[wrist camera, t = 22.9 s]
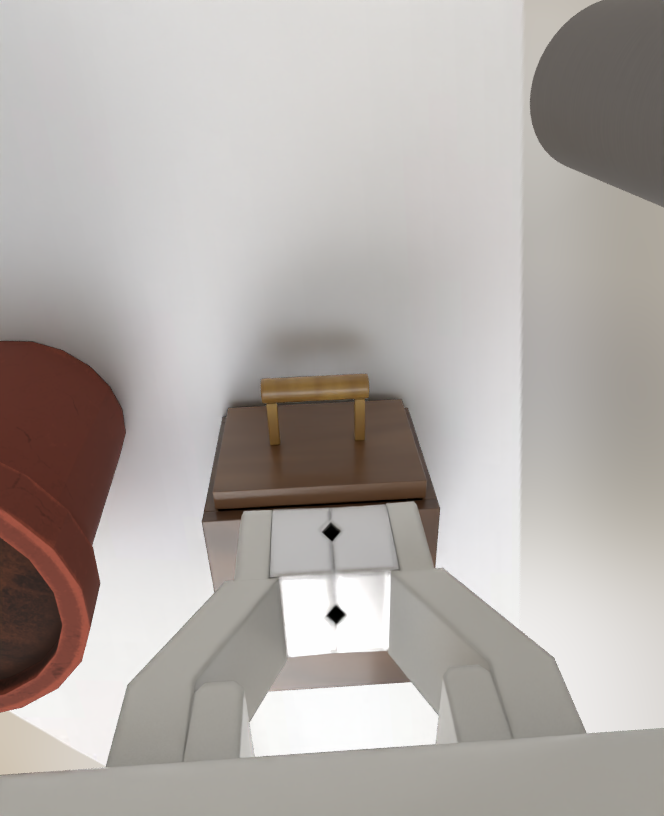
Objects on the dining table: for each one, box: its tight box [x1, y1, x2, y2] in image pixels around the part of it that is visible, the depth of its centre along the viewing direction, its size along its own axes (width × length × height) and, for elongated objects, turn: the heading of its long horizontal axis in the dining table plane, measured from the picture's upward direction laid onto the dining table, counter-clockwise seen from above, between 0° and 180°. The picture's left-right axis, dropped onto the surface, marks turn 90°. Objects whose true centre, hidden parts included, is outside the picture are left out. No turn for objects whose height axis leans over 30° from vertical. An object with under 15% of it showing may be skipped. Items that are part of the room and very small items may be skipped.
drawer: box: [212, 374, 427, 511], centre depth 38 cm, size 18×11×9 cm, turn 2°
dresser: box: [202, 408, 440, 691], centre depth 40 cm, size 15×13×11 cm
